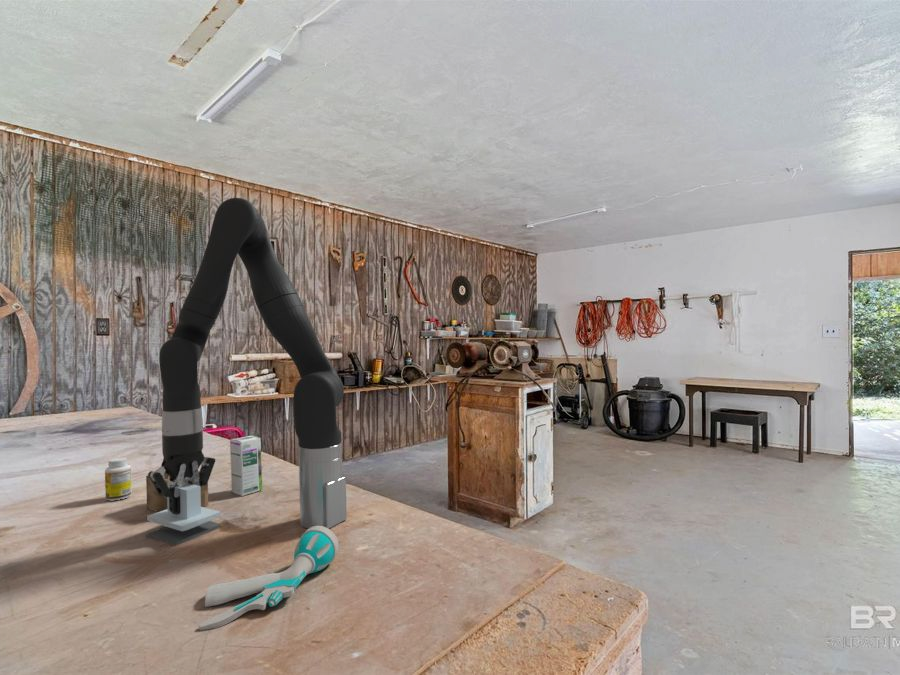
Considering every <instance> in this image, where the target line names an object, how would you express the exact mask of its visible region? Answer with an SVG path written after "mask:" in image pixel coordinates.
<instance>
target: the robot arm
mask: <svg viewBox="0 0 900 675" xmlns="http://www.w3.org/2000/svg"><path fill="white" fill-rule="evenodd" d="M211 225H212V226H211V230H210V233H209V236H208V241H207V244H206V247H205V251H204V253H203V256H202V259H201V263H200V266H199V268H198V270H197V273H196V276H195V279H194V281H193V283H192V285H191V287H190V289H189V291H188V293H187V296H186V297H185V299H184V301H183V304H182V306H181V309H180V311H179V313H178V322H177V325H176V326H175V329H174V331H173V334H172V336H171V338H170V339H168V340H167V341H165V342H163V344H162V345H161V347H160V350H159V354H158V355H159V356H158V361H159V364H158V365H159V371H160V377H161V378H160V379H161V383H162V418H161V438H162V439H161V442H162V443H161V446H162V447H161V448H162V449H161V450H162V456H163V459H162V462H161V465H160V467H158V468H157V469H155V470H150V471H149V472H147V473H148V474H147V476H149V478H150V480H151V482H152V483H153V485H154V487H155V489H156V490H157V492H158V494H159V495H161V496H165V497H169V510H170V512H172V514H175V515H178V514H180V497H179V495H180V489H181V486H182V484H183V479H184V478H185V479H186V481H187V483H189V484H193V485H198V486H200V487H202V486H203V485H204V486H205V485H207V483H208V484H209V480H210V477H211V475H212V474H211V473H212V471H213V468H214V465H215V463H216V458H214V457H208V456H205V455H204V453H203V450H204V438H203V437H204V436H203V435H204V434H203V432H204V431H203V429H204V428H203V427H204V426H203V415H202V406H201V404H202V403H201V401H202V400H201V399H202V398H201V396H202V395H201V387H200V385H199V382H198V365H199V364H198V362H199V361H200V359H201V357H202V356H203V352H204V349H205V347H206V345H207V341H208V338H209V335H210V332H211V330H212V328H213V327H214V324H215V323H216V321H217V319H218V317H219V314H220V312H221V310H222V308H223V306H224V303H225V301H226V297H227V293H228V288H229V284H230V279H231V274H232V270H233V269H232V268H233V266H234V264H235V260H236V258H237V257H238V256H239V258H240V260H241V262H242V264H243V266H244V267H245V270H246V273H247V275H248V278H249V279H248V280H249V282H250V287H251V292H252V296H253V299H254V302H255V305H256V307H257V309H258V310H257V311H259V315H260V316H261V318H262V320H263V323H264V325H265V326H266V328H267V331H269V334H271V336H272V337H273V339H274V340H276V342H277V343H278V344H279V345H280V346H281V347H282V349H283V350H285V352H286V354H287V355H289V357H290V359H292V361H293V364H294V365H295V367H296V369H297V372H298V374H299V377H300V379H299V380H298V381H297V382H296V384H295V388H294V390H293V398H292V399H293V400H292V401H293V402H292V404H293V414H294V415H293V418H294V421H293V422H294V432H295V434H296V437H297V439H298V440H297V441H298V470H299V471H298V473H299V474H298V475H299V478H298V479H299V481H298V482H299V514H300V515H299V516H300V518H299V519H300V521H299V523H300V526H301V527H303V528H306V529H309V528H311V527H313V526H323V527H326V528H328V529H329V530H330V529H331V528H333V527H334V526H336V525H338V524H340V523H342V522H344V521H345V520H347V519H348V517H347V479H346V476H343V454H342V453H343V450H342V449H343V448H342V445H343V444H342V440H343V439H342V431H341V429H340V428H339V427H338V424H337V423H338V422H337V407H338V406H339V405H340V404H341V403H342V401H343V398H344V396H345V395H344V394H345V391H344V390H345V389H344V388H345V387H344V383H343V381H342V380H341V377H340V376H339V374H338V373H337V371H336V369H335V368H334V366H333V364H332V363H331V361H330V360H329V358H328V356H327V354H326V352H325V351H324V349H323V348H322V346H321V343H320V341H319V338H318V336H317V334H316V330H315V329H314V327H313V324H312V322H311V320H310V318H309V316H308V314H307V310H306V308H305V306H304V304H303V302H302V299H301V297H300V296H299V293H298V292H297V289H296V287H295V286H294V284H293V282H292V280H291V279H290V277H289V275H288V274H287V272H286V271H285V269H284V267H283V265H281V262H280V261H279V259H278V257H277V255H276V252H275V249H274V247H273V244H272V242H271V239H270V236H269V233H268V230H267V226H266V222H265V221H264V218H263V217H262V215H261V214H260V212H258V210H257V208H256V207H255V206H254V205H253V204H252V203H251V202H249V201H248V200H246V199H245V198H241V197H232V198H227V199H226V200H224V201H222V203H220V204H219V206H218V208H216V211H215V214H214V218H213V221H212V224H211ZM199 468H200V469H199ZM198 471H199V472H198ZM164 472H166V473H167V474H168V475H169V476H168V485H169V486H167V484H166V482H165V480H164V479H163V478H165V475H164ZM175 479H176V480H175Z"/></svg>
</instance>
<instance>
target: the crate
mask: <svg viewBox="0 0 900 675" xmlns="http://www.w3.org/2000/svg"><path fill="white" fill-rule="evenodd" d="M199 471H200V470H198V472H199ZM164 475H165V478H163V479H164V480H165V482H166V484H167V486H168V476H169V475H168V474H167V473H166V472H164ZM145 477H146V478H145V480H146V484H145V485H146V488H145V489H146V490H145V491H146V509H147V508H150V509H153V510H152V511H154V510H156V511H155V512H157V511H159V512H160V511H163V510H166V509H168V508H167V497H165V496H161V495H159V494H158V492H157V490H156V489H155V487H154V485H153V483H152V482H151V480H150V478H149V476H148V475H146V476H145ZM175 480H176V479H175ZM183 482H184V483H187V481H186V479H185V478H184V479H183ZM200 488H201V507H204V508H206V507H207V505H208V506H209V482H208V483H207V485H205V486H204V485H203V486H202V487H200ZM150 509H149V510H150Z"/></svg>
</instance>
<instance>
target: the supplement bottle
mask: <svg viewBox="0 0 900 675" xmlns="http://www.w3.org/2000/svg"><path fill="white" fill-rule="evenodd" d="M104 479H105V480H104V482H105V483H104V486H105V489H104V490H105V500H106V501H108V500H109V502H115V501H114V500H118V501H121V500H120V499H123V500H126V499H128V498H130V497H131V496H132V494H133V493H132V489H133V488H132V466H131V465H130V464H128V458H127V457H116V458H111V459H109V460H108V467H106V468H105V469H104ZM125 498H126V499H125Z"/></svg>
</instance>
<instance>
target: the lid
mask: <svg viewBox="0 0 900 675" xmlns="http://www.w3.org/2000/svg"><path fill="white" fill-rule="evenodd" d="M168 486H169V485H168ZM179 497H180V514H178V515H175V514H172V512H170V510H169V497H167V508H168V509H166V510H163V511H160V512H157V511H156V512H153V513H151V514H148V515H147V516H146V518H147V519H146V520H147V522H148V521H149V522H151V523H154V524H157V525H161V526H164V527H170V528H173V529H176V530H179V531H186V530H189V529H191V528H194V527H197V526H199V525H202V524H204V523H207V522H209V521H212V520H215V519H218V518H221V517H222V515H221V514H222V512H221V511H219V510H216V509H211V508H206V507H201V488H200V486H198V485H193V484H189V483H184V482H183V484H182V486H181V489H180V495H179Z"/></svg>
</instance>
